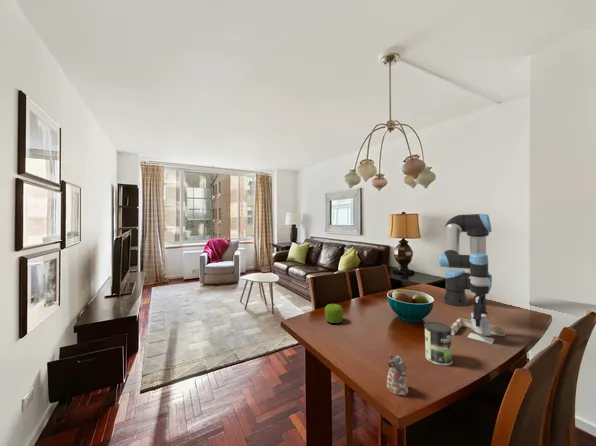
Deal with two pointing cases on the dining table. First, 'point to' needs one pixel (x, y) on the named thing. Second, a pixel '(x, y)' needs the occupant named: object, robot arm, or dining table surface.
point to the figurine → (397, 376)
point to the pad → (481, 338)
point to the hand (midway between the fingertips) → (480, 329)
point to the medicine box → (484, 324)
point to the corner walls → (467, 323)
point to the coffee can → (438, 343)
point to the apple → (333, 313)
